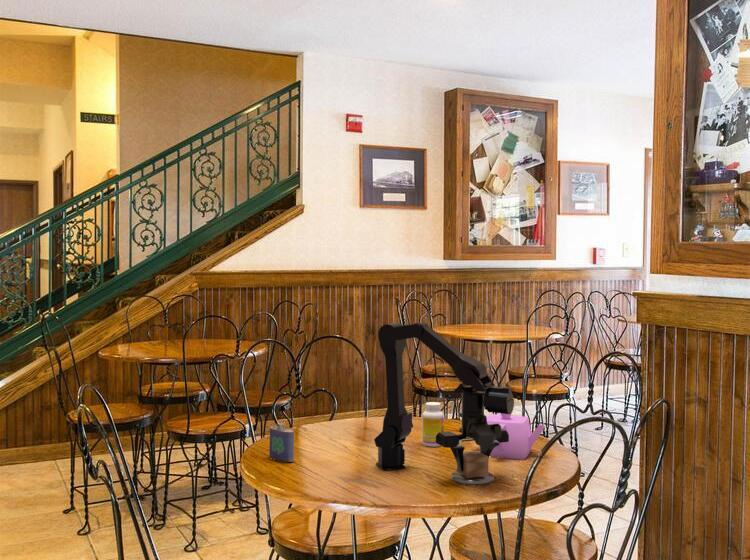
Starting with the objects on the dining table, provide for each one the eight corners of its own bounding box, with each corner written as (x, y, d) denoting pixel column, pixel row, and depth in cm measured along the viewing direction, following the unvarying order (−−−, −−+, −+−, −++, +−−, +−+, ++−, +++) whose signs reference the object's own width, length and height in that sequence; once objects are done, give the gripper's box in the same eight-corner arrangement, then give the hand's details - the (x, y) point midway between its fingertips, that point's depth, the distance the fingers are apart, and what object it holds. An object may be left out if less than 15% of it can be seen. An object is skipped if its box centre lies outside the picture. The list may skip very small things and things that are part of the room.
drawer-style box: (467, 478, 186) (467, 458, 186) (457, 471, 192) (457, 452, 192) (488, 475, 188) (488, 456, 188) (477, 469, 194) (477, 450, 194)
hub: (463, 487, 183) (463, 472, 183) (444, 475, 194) (444, 460, 193) (501, 483, 187) (501, 467, 187) (481, 471, 197) (481, 456, 197)
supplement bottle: (444, 447, 222) (444, 405, 222) (422, 447, 222) (422, 405, 222) (442, 442, 229) (443, 401, 229) (421, 441, 229) (421, 401, 229)
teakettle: (466, 449, 220) (466, 408, 220) (513, 443, 227) (513, 404, 227) (498, 464, 205) (498, 420, 204) (547, 457, 212) (547, 415, 212)
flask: (296, 461, 207) (295, 424, 206) (288, 464, 204) (288, 426, 204) (273, 456, 213) (273, 419, 212) (266, 458, 210) (265, 421, 210)
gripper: (454, 419, 179) (453, 482, 179) (520, 414, 185) (519, 475, 186) (435, 410, 189) (434, 470, 190) (498, 405, 196) (498, 463, 196)
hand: (472, 469), depth 190 cm, fingers closed on drawer-style box, 6 cm apart
